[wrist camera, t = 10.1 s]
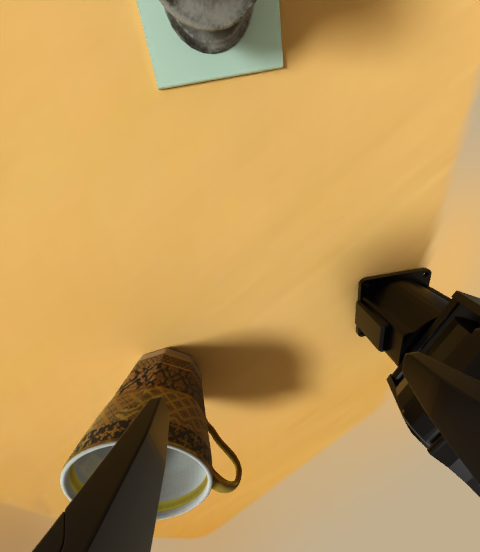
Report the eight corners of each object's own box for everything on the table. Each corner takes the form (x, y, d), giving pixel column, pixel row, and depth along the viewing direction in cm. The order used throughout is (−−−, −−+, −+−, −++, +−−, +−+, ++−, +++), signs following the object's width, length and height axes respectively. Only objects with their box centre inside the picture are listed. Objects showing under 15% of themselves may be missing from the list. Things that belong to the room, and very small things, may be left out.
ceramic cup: (107, 390, 26) (46, 512, 17) (136, 320, 22) (78, 424, 13) (217, 419, 29) (215, 534, 20) (256, 361, 26) (276, 468, 17)
